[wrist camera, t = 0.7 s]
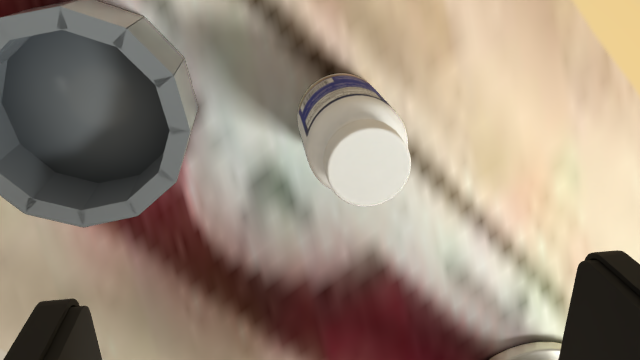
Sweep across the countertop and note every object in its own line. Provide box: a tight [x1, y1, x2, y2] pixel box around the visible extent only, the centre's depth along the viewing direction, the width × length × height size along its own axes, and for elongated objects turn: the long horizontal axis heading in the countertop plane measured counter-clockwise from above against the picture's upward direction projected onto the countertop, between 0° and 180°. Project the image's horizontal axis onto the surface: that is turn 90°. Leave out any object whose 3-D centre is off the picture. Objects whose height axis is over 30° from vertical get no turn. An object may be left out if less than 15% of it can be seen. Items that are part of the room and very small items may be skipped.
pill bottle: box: [297, 73, 411, 206], centre depth 28 cm, size 5×5×9 cm
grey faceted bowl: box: [0, 0, 198, 227], centre depth 28 cm, size 11×11×4 cm
